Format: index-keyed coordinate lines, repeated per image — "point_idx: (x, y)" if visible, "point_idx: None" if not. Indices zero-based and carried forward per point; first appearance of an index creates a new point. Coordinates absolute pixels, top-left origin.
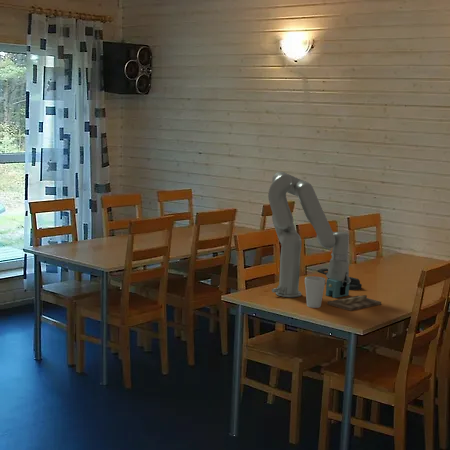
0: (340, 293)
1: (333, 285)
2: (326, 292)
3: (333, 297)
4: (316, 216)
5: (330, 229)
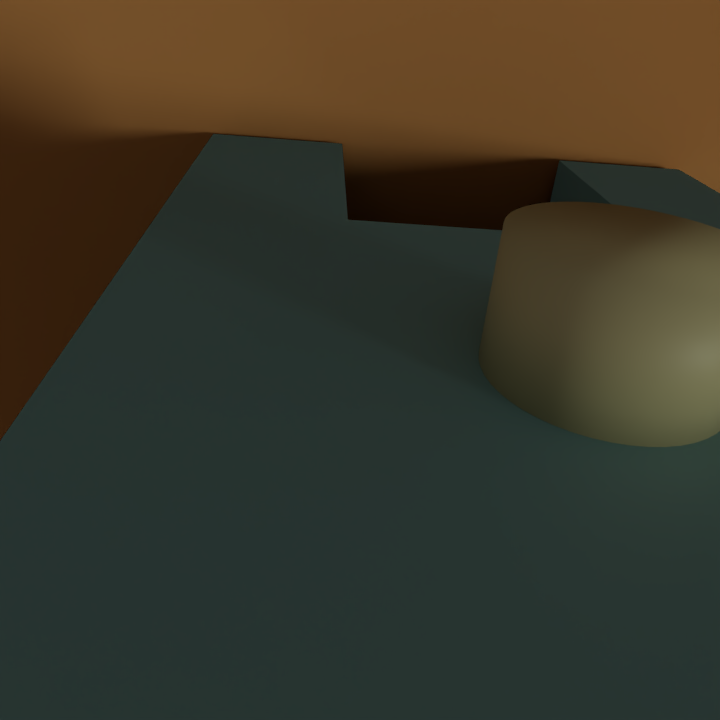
0: None
1: (314, 397)
2: (704, 199)
3: (284, 141)
4: None
5: None
